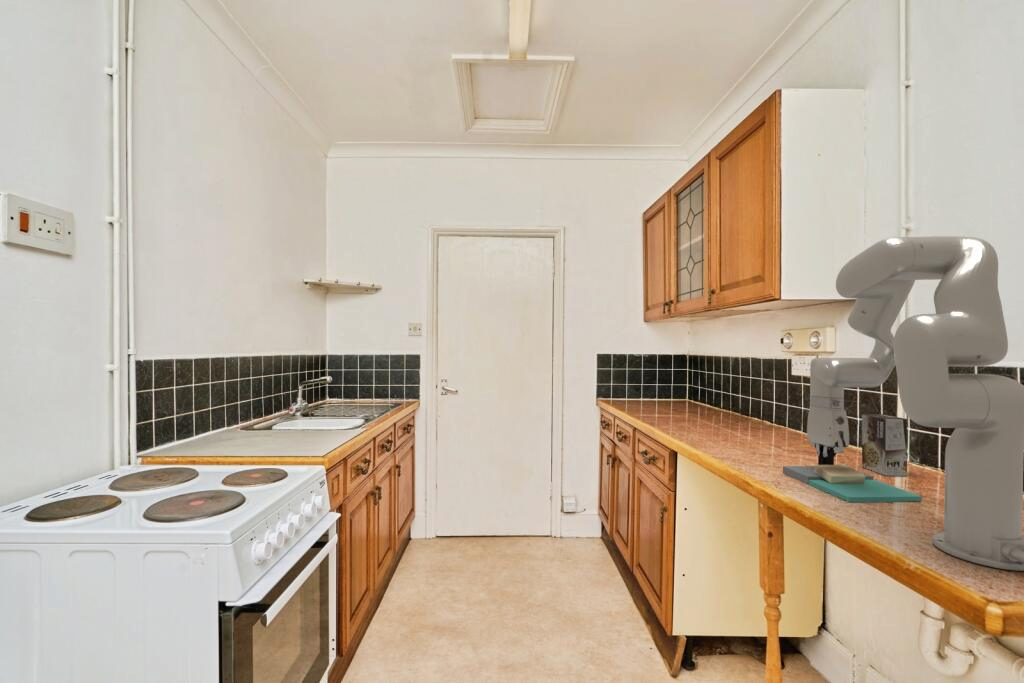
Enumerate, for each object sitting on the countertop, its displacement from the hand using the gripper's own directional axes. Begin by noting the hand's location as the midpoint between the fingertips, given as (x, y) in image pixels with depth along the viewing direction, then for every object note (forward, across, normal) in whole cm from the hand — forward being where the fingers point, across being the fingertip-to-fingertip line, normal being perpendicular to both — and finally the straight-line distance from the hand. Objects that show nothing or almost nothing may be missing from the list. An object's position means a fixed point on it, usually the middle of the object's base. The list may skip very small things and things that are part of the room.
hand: (825, 470), depth 123 cm
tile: (0, -4, 0) cm, 4 cm away
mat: (+2, -11, -1) cm, 11 cm away
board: (+2, +1, -1) cm, 3 cm away
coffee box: (+3, +7, -23) cm, 24 cm away
